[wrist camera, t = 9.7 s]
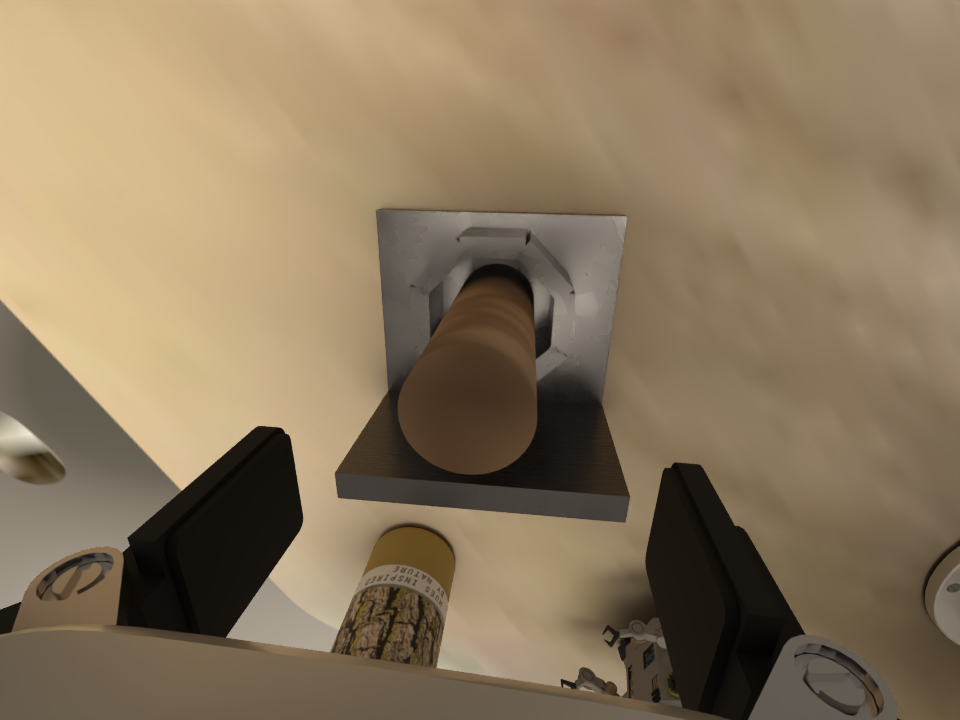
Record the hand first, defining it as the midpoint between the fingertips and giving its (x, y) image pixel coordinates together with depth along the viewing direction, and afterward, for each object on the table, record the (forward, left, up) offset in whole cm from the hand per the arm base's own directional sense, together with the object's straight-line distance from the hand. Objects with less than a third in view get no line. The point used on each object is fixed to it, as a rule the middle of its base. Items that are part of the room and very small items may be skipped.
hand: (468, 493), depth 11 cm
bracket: (+1, +1, -18) cm, 18 cm away
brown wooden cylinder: (0, 0, -17) cm, 17 cm away
